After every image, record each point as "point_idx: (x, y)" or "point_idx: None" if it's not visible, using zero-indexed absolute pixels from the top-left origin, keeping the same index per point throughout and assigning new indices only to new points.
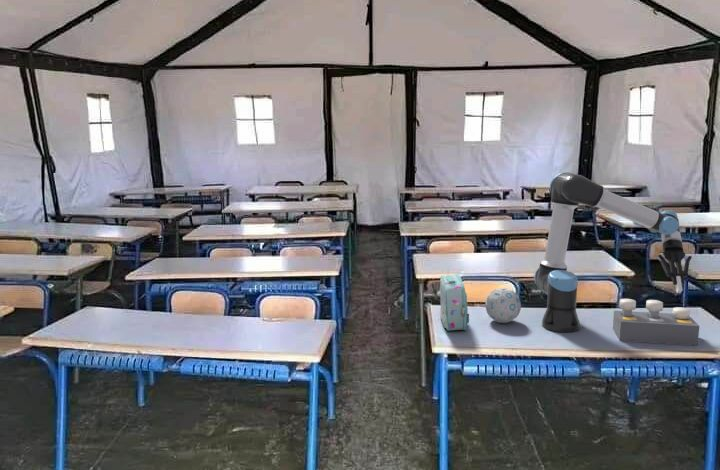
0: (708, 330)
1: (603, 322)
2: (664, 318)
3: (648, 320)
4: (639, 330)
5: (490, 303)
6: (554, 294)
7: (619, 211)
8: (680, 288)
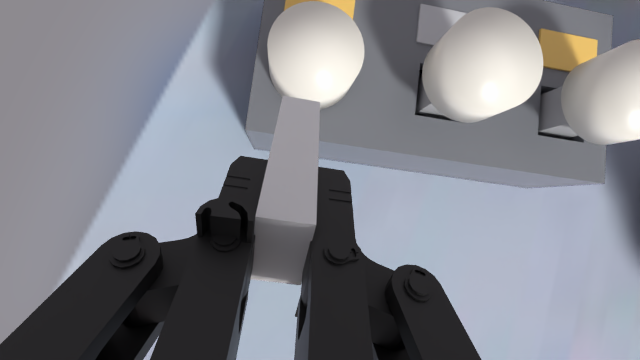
0: (135, 187)
1: (543, 266)
2: (401, 58)
3: None
4: None
5: None
6: None
7: None
8: (298, 106)
